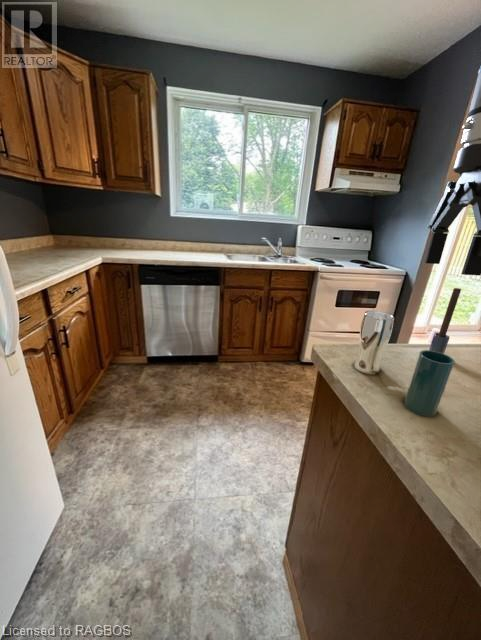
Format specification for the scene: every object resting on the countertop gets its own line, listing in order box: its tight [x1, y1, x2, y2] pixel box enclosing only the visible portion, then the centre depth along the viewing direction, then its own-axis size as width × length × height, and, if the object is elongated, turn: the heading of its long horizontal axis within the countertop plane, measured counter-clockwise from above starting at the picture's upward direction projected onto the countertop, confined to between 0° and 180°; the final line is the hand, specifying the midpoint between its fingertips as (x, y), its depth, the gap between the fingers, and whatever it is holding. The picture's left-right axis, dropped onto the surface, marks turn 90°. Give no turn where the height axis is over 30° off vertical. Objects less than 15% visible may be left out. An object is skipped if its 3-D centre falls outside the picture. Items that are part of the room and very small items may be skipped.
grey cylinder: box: [428, 332, 451, 354], centre depth 78 cm, size 4×4×7 cm
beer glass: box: [354, 310, 395, 375], centre depth 69 cm, size 7×7×15 cm
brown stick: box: [438, 287, 462, 337], centre depth 75 cm, size 2×2×20 cm
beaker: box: [404, 349, 456, 417], centre depth 55 cm, size 6×6×12 cm
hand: (449, 268), depth 54 cm, fingers open, 13 cm apart
